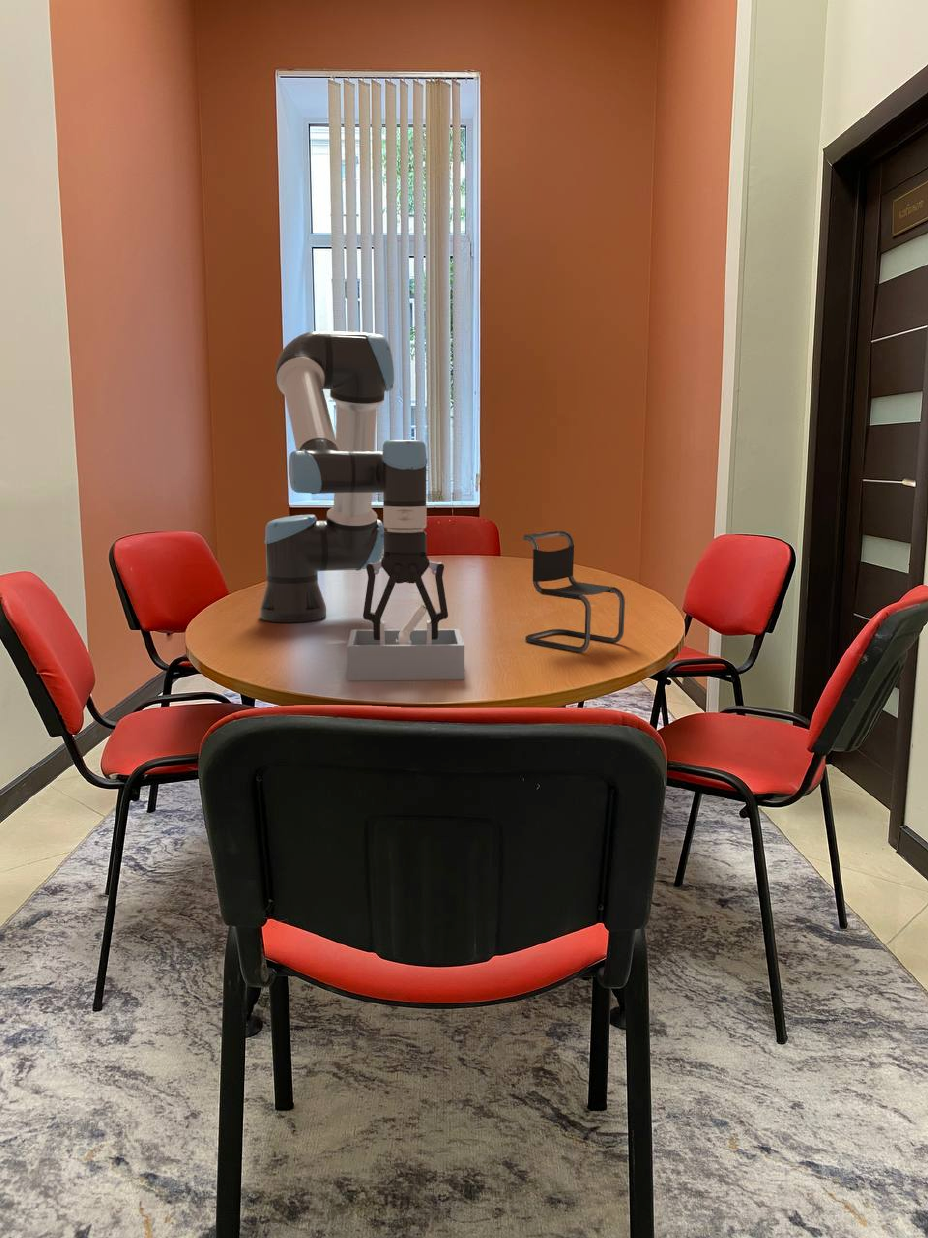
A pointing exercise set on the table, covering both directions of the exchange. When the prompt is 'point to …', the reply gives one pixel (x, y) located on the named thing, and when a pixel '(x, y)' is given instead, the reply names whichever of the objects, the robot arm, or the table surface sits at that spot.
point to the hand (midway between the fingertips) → (405, 657)
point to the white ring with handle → (410, 626)
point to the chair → (567, 590)
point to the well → (405, 656)
